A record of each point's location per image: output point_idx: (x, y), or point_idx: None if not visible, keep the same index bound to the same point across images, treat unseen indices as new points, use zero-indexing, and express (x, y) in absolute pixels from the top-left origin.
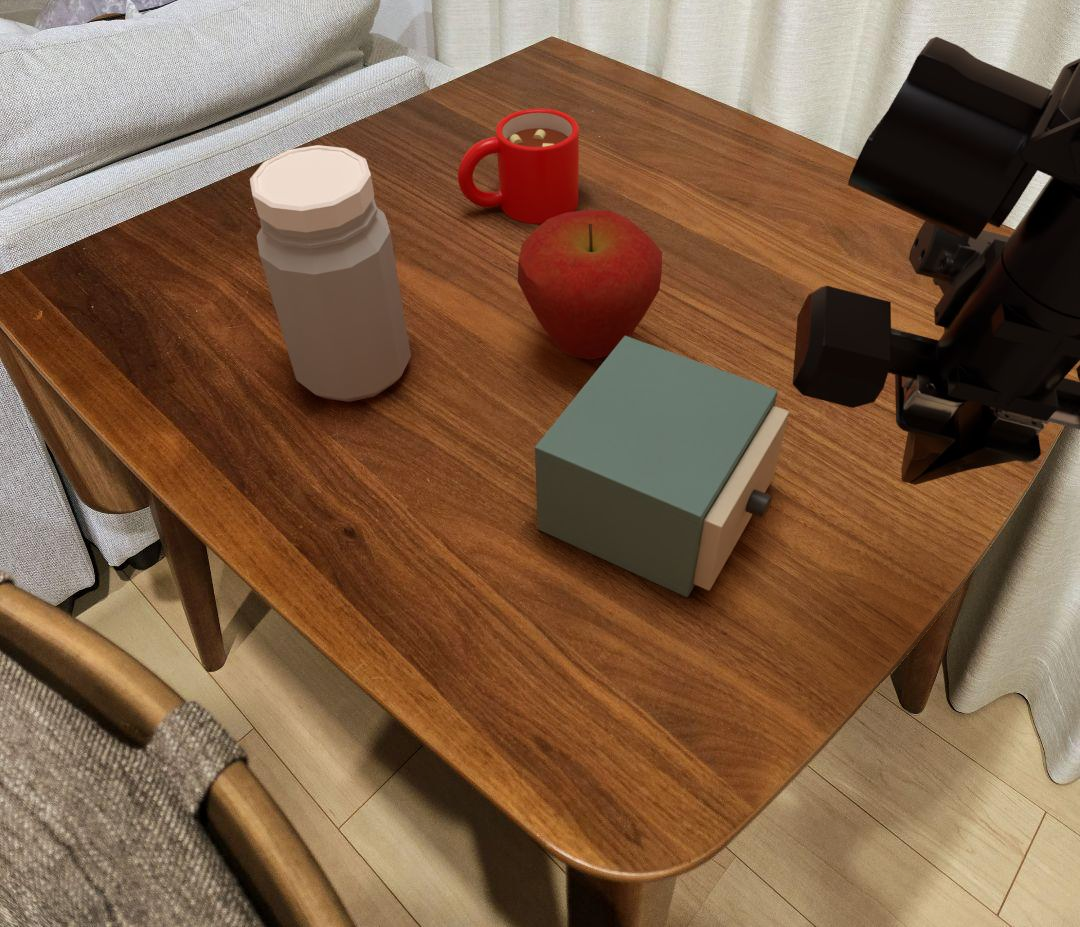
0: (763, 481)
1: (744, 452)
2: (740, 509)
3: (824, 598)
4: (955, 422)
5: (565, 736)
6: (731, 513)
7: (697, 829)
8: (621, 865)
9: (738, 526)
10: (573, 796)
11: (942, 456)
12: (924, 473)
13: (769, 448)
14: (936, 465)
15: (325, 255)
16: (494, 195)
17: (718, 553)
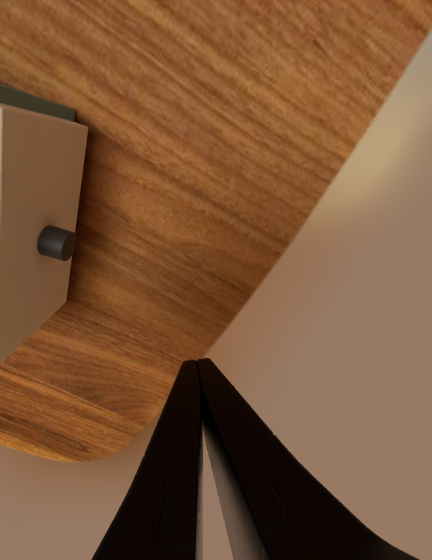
0: (58, 187)
1: None
2: (28, 285)
3: (174, 275)
4: (252, 553)
5: (18, 410)
6: (2, 338)
7: (116, 441)
8: (82, 460)
9: (53, 261)
10: (40, 437)
11: (226, 514)
12: (207, 448)
13: (6, 209)
14: (219, 494)
15: None
16: None
17: (35, 326)
